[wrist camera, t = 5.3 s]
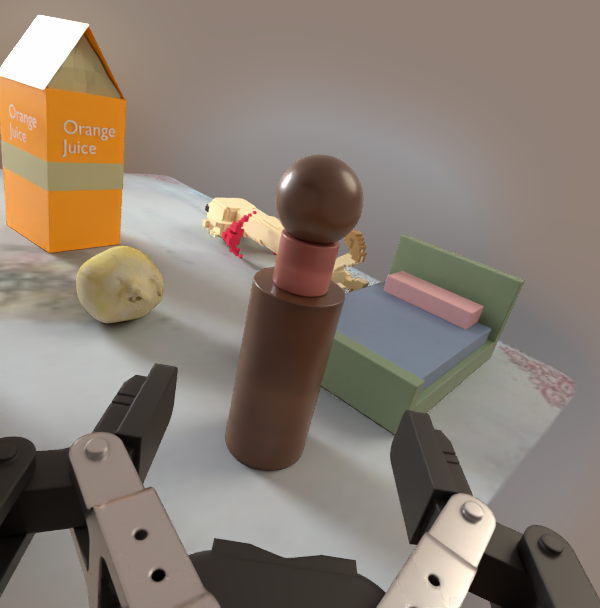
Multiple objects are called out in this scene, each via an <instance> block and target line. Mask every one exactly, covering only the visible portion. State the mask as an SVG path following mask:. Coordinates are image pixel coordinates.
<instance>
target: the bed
mask: <svg viewBox="0 0 600 608" xmlns="http://www.w3.org/2000/svg"><path fill="white" fill-rule="evenodd" d="M524 281H525V280H523V279H520V278H518V277H515V276H512V275H509V274H507V273H505V272H502V271H499V270H497V269H494V268H491V267H489V266H486V265H483V264H481V263H478V262H476V261H473V260H471V259H468V258H465V257H463V256H460V255H458V254H455V253H452V252H450V251H447V250H445V249H442V248H439V247H437V246H434V245H432V244H429V243H426V242H424V241H421V240H418V239H416V238H413V237H411V236H408V235H403V236H401V238H400V241H399V244H398V248H397V251H396V254H395V257H394V260H393V263H392V267H391V270H390V273H389V275H388V276H387V279H386V281H384V282H381V283H378V284H375V285H372V286H368V287H365V288H362V289H359V290H356V291H352V292H349V293H346V294H345V300H344V304H343V307H342V311H341V315H340V318H339V322H338V326H337V329H336V333H335V336H334V340H333V344H332V347H331V351H330V355H329V358H328V362H327V366H326V369H325V373H324V376H323V380H322V384H321V386H322V387H324V388H325V389H327V390H328V391H330V392H331V393H333V394H334V395H336V396H337V397H339V398H340V399H342V400H343V401H345V402H346V403H348V404H349V405H351V406H352V407H354V408H355V409H357V410H358V411H360V412H361V413H363V414H364V415H366V416H367V417H369V418H370V419H372V420H373V421H375V422H376V423H378V424H379V425H381V426H382V427H384V428H385V429H387V430H388V431H390V432H392V433H393V434H396V432H397V429H398V426H399V424H400V421H401V418H402V416H403V413H404V412H405V411H406V410H410V411H416V412H421V413H426V412H427V411H429V410H430V409H431V408H432V407H433V406H434V405H436V404H437V403H438V402H439V401H440V400H441V399H443V398H444V397H445V396H446V395H447V394H448V393H449V392H451V391H452V390H453V389H454V388H455V387H456V386H458V385H459V384H460V383H461V382H462V381H463V380H465V379H466V378H467V377H468V376H469V375H470V374H471V373H473V372H474V371H475V370H476V369H477V368H478V367H480V366H481V365H482V364H483V363H484V362H485V361H486V360H488V359H489V358H490V357H491V355H492V353H493V351H494V348H495V346H496V344H497V342H498V340H499V337H500V335H501V333H502V331H503V328H504V326H505V324H506V322H507V319H508V317H509V315H510V313H511V311H512V308H513V306H514V304H515V302H516V299H517V297H518V295H519V292H520V290H521V288H522V286H523V284H524Z"/></svg>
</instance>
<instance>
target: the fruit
mask: <svg viewBox="0 0 600 608" xmlns="http://www.w3.org/2000/svg"><path fill="white" fill-rule="evenodd" d="M76 287H77V294H78V298H79V301H80V303H81V305H82V306H83V308H84V309H85V310H86V311H87V312H88V313H89V314H90V315H91V316H92V317H93V318H95V319H96V320H98V321H100V322H102V323H114V322H120V321H126V320H132V319H136V318H140V317H143V316H145V315H146V314H148V313H149V312H150V311H151V310H152V309H153V308H154V307H156V306H157V305H158V303H159V302H160V301H161V299H162V296H163V290H164V283H163V278H162V276H161V273H160V272H159V270H158V269H157V267H156V266H155V265H154V263H153V262H152V261H151V260H150V258H149V257H148V256H146V255H145V254H144V253H142V252H140V251H138V250H136V249H135V248H132V247H128V246H116V247H112V248H110V249H107V250H105V251H103V252H101V253H99V254H97V255H95V256H94V257H92V258H90V259H89V260H88V261H86V262H85V263H84V264H83V265H82V266H81V267H80V269H79V271H78V274H77V281H76Z"/></svg>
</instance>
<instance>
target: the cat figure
mask: <svg viewBox="0 0 600 608" xmlns="http://www.w3.org/2000/svg"><path fill="white" fill-rule="evenodd" d="M205 210H206V211H207V212H208V213H207V216H208V218H207V219H203V221H202V226H203V227H204V228H206V229H208V230H210V234H213V233H214V236H213V237H217V236H220V237H222V238H223V240H225V243H226V244H227V245H228V246H229V247H230V252H233V253H234V254H235V255H236V256H239V258H242V257H243V255H241V254H240V255H239V252H240V248H236V246H237V244H239V242H240V238H241V237H246V238H251V239H253V240H254V241H256V242H257V243H258V244H260V245H261V246H266V247H268V248H269V249H271V250H272V251H273V252H274V254H275V255H277V252H278V247H279V242H280V237H281V232H282V230H283V229H285V228H284V227H283V226H282V224H281V222H280V220H279V219H277V218H275V217H273V216H271V217H269V216H268V215H266V214H265V213H263V212H262V211H260V210H259V209H256V207H255V206H254V205H252V204H251V203H249V202H247V201H246V200H244V199H241V198H215V199H213V201H212V202H210V203H208V204H207V206H206V208H205ZM363 239H364V238H363V237H362V233H360V232H358V231H356V230H352V231H351V232H350V233H349V234H348V235H346V236H345V239H344V241H345V242H346V244H345V245H347V246H348V247H349V251H351V252H350V253H347V254H345V255H344V256H341V257H338V258H336V261H335V265H334V269H333V273H332V277H331V280H332V281H333V282H335V283H336V284H338V285H339V286H340V287H341V288H342V289H343V291H344V292H345V289H349V290H350V291H349V292H352V291H356V290H359V289H362V288H365V287H368V284H369V282H367V281H366V280H364V279H358V278H357V279H353V278H352V276H351V274H350V273H349V272H347V271H346V270H344V269H345V268H344V267H346V266H348V267H349V266H354V265H357V264H358V263H361V262H364V259H365V256H366V253H365V248H366V246H365V245H364V244H365V242H364V241H363Z"/></svg>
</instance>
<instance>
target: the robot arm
mask: <svg viewBox="0 0 600 608" xmlns="http://www.w3.org/2000/svg"><path fill="white" fill-rule="evenodd" d="M177 372H178V368H177V367H174V366H168V365H163V364H157V363H155V364H154V366H153V368H152V369H151V371H150V373H149V375H148V376H147V377H145V376H140V375H135V376H134V377H132V378H130V379H129V380H127V381H126V382H124V384H123V385H122V387H121V388H120V390H119V391H118V393H117V395H116V396H115V398H114V399H113V401H112V403H111V404H110V405H109V407H108V408H107V410H106V412H105V413H104V415H103V416H102V418H101V419H100V421H99V422H98V424H97V426H96V427H95V429H94V430H93V432H92V433H90V434H87V435H84V436H82V437H80V438H79V439H77V440H76V441H75V442H74V443H73V444H72V446H71V447H70V448H66V449H60V450H48V451H36V449H35V446H34V444H33V443H32V442H31V441H29V440H28V439H25V438H22V437H4V438H0V597H1V595H2V593H3V591H4V589H5V587H6V586H7V584H8V582H9V580H10V578H11V577H12V575H13V573H14V571H15V569H16V567H17V566H18V564H19V562H20V560H21V558H22V556H23V555H24V553H25V551H26V549H27V547H28V545H29V544H30V542H31V540H32V538H33V536H34V534H35V533H38V532H45V531H53V530H61V529H68V528H70V531H71V534H72V537H73V541H74V544H75V547H76V551H77V554H78V557H79V561H80V564H81V567H82V571H83V574H84V577H85V581H86V585H87V591H88V599H89V605H90V608H460V607H461V605H462V603H463V601H464V598H465V596H466V594H467V592H468V591H469V592H471V593H473V594H475V595H477V596H479V597H481V598H484V599H486V600H488V601H490V604H491V608H600V599H599V597H598V595H597V593H596V592H595V590H594V588H593V586H592V584H591V583H590V580H589V578H588V577H587V575H586V573H585V571H584V569H583V567H582V565H581V563H580V561H579V560H578V558H577V556H576V554H575V552H574V550H573V549H572V547H571V546H570V545H569V544H568V542H567V541H566V540H565V539H564V538H562V537H561V536H560V535H559V534H557V533H556V532H554V531H553V530H551V529H549V528H546V527H543V526H539V525H532V526H529V527H528V528H527V529H526V531H525V532H524V534H522V533H519V532H517V531H515V530H513V529H510V528H508V527H505V526H503V525H501V524H499V523H497V522H496V519H495V517H494V514H493V513H492V511H491V510H490V509H489V508H488V506H487V505H485V504H484V503H483V502H482V501H480V500H479V499H477V498H475V497H473V495H472V492H471V490H470V487H469V485H468V483H467V480H466V478H465V475H464V473H463V471H462V468H461V466H460V465H459V461H458V458H457V456H455V451H454V449H453V446H452V444H451V442H450V441H449V440H448V438H447V437H446V436H445V435H444V434H443V433H442V432H441V431H440V430H434V427H433V425H432V422H431V419H430V417H429V415H428V414H426V413H421V412H416V411H410V410H406V411H405V412H404V413H403V416H402V418H401V421H400V424H399V426H398V429H397V432H396V434H395V437H394V439H393V442H392V446H391V452H390V460H391V465H392V469H393V474H394V478H395V482H396V487H397V491H398V496H399V500H400V504H401V509H402V513H403V517H404V522H405V526H406V530H407V535H408V539H409V543H410V544H414V545H417V546H416V548H415V549H414V551H413V552H412V554H411V555H410V557H409V558H408V560H407V561H406V563H405V565H404V566H403V568H402V569H401V571H400V572H399V574H398V575H397V577H396V578H395V580H394V581H393V583H392V585H391V586H390V588H389V589H388V591H387V592H386V593H385V592H384V591H383V590H382V589H381V588H380V587H379V586H378V585H376V584H375V583H373V582H372V581H371V580H369V579H367V578H366V577H364V576H362V575H360V574H358V573H357V568H356V560H350V559H343V558H337V557H331V556H324V555H317V556H307V557H296V558H283V557H280V556H278V555H276V554H273V553H271V552H268V551H266V550H263V549H261V548H259V547H256V546H254V545H251V544H248V543H241V542H235V541H229V540H222V539H216V538H214V542H213V547H212V550H208V551H202V552H197V553H194V554H191V555H188V554H187V552H186V550H185V548H184V546H183V544H182V542H181V540H180V538H179V536H178V534H177V532H176V530H175V528H174V526H173V524H172V522H171V520H170V518H169V516H168V514H167V512H166V510H165V508H164V506H163V504H162V502H161V500H160V498H159V496H158V494H157V493H156V491H155V489H154V488H152V487H149V488H146V489H145V487H144V486H143V483H144V480H145V478H146V476H147V473H148V471H149V469H150V466H151V464H152V461H153V459H154V457H155V454H156V452H157V450H158V447H159V445H160V443H161V440H162V438H163V436H164V433H165V431H166V429H167V426H168V424H169V421H170V418H171V415H172V411H173V406H174V399H175V390H176V381H177Z"/></svg>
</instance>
